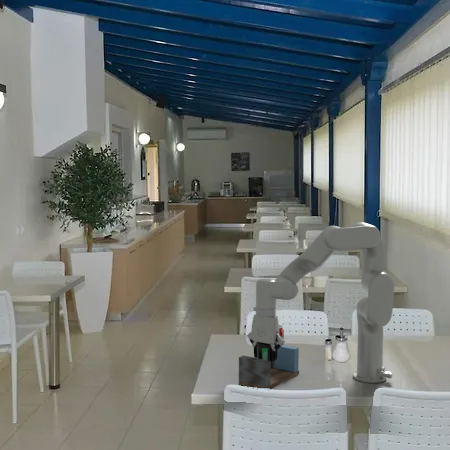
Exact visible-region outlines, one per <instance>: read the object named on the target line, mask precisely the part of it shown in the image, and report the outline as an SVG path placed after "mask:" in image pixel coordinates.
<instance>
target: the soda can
mask: <svg viewBox="0 0 450 450" xmlns="http://www.w3.org/2000/svg"><path fill="white" fill-rule="evenodd" d="M279 335H280V336H281V337H282V338H283V340H284V341H285V332H284V329H283V326H282V325H280V324H279ZM278 343H279V341H278V342H277V344H278ZM283 345H285V343H284V344H283Z"/></svg>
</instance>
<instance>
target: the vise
mask: <svg viewBox="0 0 450 450" xmlns="http://www.w3.org/2000/svg"><path fill="white" fill-rule="evenodd" d="M298 375H300V370H299V369H298V371H296V372H291V371H286V370H282V369H277V368H271V361H268V360H263V359H258V358H257V357H256V358H254V356H253V357H252V356H247V355H241V356H239V357H238V386H241V385H244V386H243V387H245V386H250V387H257V388H270V390H272V389H274V388H275V387H278V386H280V385H281V384H283V383H285V382H287V381H288V380H291V379H292V378H294V377H297V376H298Z"/></svg>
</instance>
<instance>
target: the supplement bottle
mask: <svg viewBox="0 0 450 450" xmlns="http://www.w3.org/2000/svg"><path fill="white" fill-rule="evenodd" d="M271 351H272V347H271V345H270V344H265V343H260V342H258V343H257V357H256V358H258V359H263V360H268V361H271ZM274 366H275V361H271V368H273V367H274Z"/></svg>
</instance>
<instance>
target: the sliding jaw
mask: <svg viewBox="0 0 450 450" xmlns="http://www.w3.org/2000/svg"><path fill="white" fill-rule="evenodd" d="M299 352H300V351H299V347H297V346H292V345H286V344H284V345H282V346H281V347H280V348H279V349H278V351H277V360H275V366H274V367H273V368H277V369H282V370H286V371H291V372H296V371H298V370H299V356H300V355H299Z"/></svg>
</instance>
